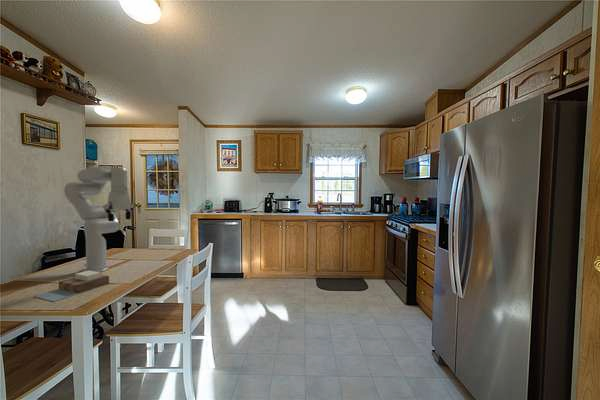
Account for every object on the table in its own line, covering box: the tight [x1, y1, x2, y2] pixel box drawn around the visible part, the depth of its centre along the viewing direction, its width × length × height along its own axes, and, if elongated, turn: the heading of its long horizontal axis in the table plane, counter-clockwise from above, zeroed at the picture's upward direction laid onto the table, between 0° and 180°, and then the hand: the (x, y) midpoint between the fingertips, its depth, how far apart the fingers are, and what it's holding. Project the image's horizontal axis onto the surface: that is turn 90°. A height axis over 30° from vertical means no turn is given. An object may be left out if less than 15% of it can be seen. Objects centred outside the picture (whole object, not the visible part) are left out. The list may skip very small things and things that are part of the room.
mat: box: [33, 288, 79, 303], centre depth 114 cm, size 15×9×1 cm, turn 71°
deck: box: [58, 274, 110, 295], centre depth 125 cm, size 14×14×4 cm
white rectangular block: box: [74, 270, 101, 281], centre depth 126 cm, size 9×6×2 cm, turn 71°
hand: (119, 220), depth 139 cm, fingers open, 9 cm apart
